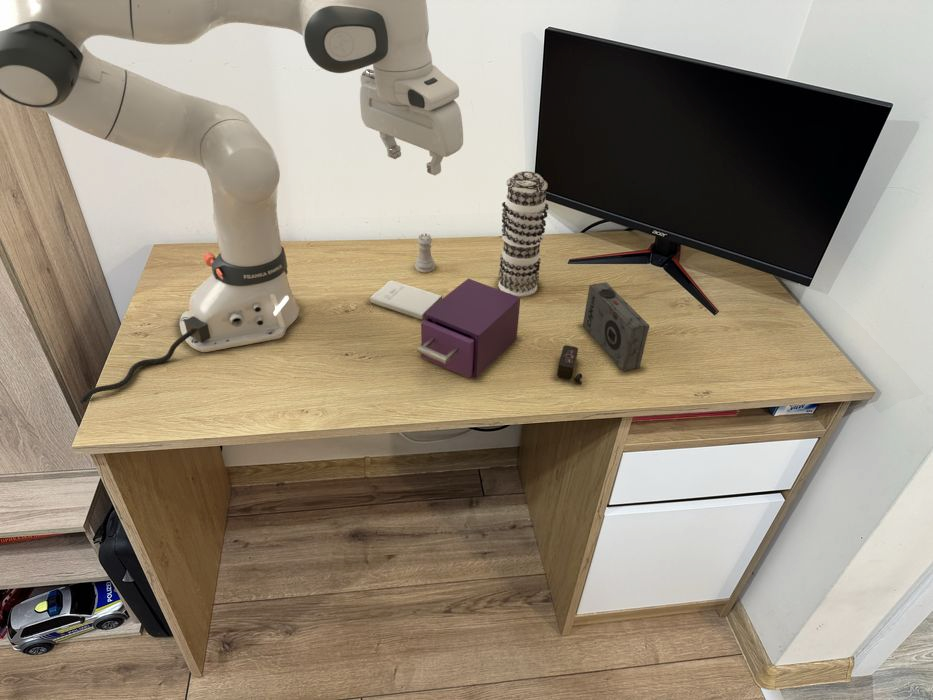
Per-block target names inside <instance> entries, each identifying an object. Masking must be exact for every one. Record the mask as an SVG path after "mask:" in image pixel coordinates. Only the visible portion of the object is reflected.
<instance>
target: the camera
mask: <svg viewBox="0 0 933 700" xmlns="http://www.w3.org/2000/svg"><path fill="white" fill-rule="evenodd" d="M587 292H588V293H587V298H586V304H585V309H584V316H583V322H582V327H583V328H584V329H585V331H586V332H587V333H588V334H589V335H590V336H591V338H593V339H594V341H595V342H596V343H597V344H598V345H599V346H600V347H601V349H602V350H603V351H604V352H605V353H606V354H607V355H608V357H609V358H610V359H611V360H612V361H613V363H614V364H615V365H616V366H617V368H618V369H620V371H621V372H627V371H631V370H637V369H640V367H641V363H642V360H643V356H644V355H643V354H644V351H645V346H646V342H647V338H648V334H649V330H650V324H649V323H648V322H647V321H645V320H644V318H642V316H641V315H640V314H639V313H638V312H637V311H636V310H635V309H634V308H633V307H632V306H631V305H630V304H629V303H628V302H627V301H626V300H625V299H624V298H623V297H622V296H621V295H620V294H619V293H618V292H617V291H616V290H615V289H614V288H613V287H612V286H611V285H610V284H609V282H607V281H606V282H600V283H599V282H598V283H594V284H589V285H588V291H587Z"/></svg>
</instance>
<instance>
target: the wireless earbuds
mask: <svg viewBox="0 0 933 700" xmlns="http://www.w3.org/2000/svg"><path fill="white" fill-rule="evenodd" d="M578 353H579V348H578V347H577V346H573V345H567V344H565V345H563V346H562V350H561V353H560V357H559V361H558V364H557V365H558V366H557V372H556V377H557V378H558V379H561V380H566V381H571V380H572V379H573V382H574V383H575V384H578V385H582V383H583V381H582V380H583V374H582V373H580V372H579V373H577V374H576V375H575V377H573V375H574V372H575V369H576V363H577V359H578Z"/></svg>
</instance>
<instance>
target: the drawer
mask: <svg viewBox="0 0 933 700" xmlns="http://www.w3.org/2000/svg"><path fill="white" fill-rule="evenodd" d="M420 332H421V333H420V339H421V341H420V343H421V344H419V345H418V346H417V348H416V352H417V353H419V354H420V355H421V357H420V358H422V359H423V360H427V361H429V362H430V363H433V364H436V365H438V366H441V368H443V369H447V370H449V371H451V372H454V373H456V374H457V375H460V376H462V377H465V378H467V379H470V378H471V377H472V369H473V367H474V348H475V337H472V336H470V335H468V334H465V333H463V332H460V331H458V330H455V329H453V328H450V327H448V326H446V325H443V324H441V323H438V322H436V321H433V323H431V322H429V321H427V320H424V319H423V320H422V322H420Z"/></svg>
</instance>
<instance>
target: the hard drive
mask: <svg viewBox="0 0 933 700" xmlns="http://www.w3.org/2000/svg"><path fill="white" fill-rule="evenodd" d="M441 299H443V295H441V294H437V293H434V292H431V291H428V290H425V289H421V288H418V287H415V286H412V285H408V284H405V283H402V282H399V281H395V280H393V279H390V280H388V281H387V282H386V283H385V284H384V285H383V286H382V287H380V288H379V289H378V290H377V291H376V292H374V293H373V294H372V295H371V296H370V297H369V302H370V303H371V304H374V305H377V306H380V307H382V308H386V309H389V310H391V311H395V312H398V313H401V314H403V315H407V316H410V317H412V318H415V319H419V320H421V321H424V313H425V312H426V311H427V310H429V309H430V308H431V307H432V306H434V305H435V304H436V303H438V302H439V301H440V300H441Z"/></svg>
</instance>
